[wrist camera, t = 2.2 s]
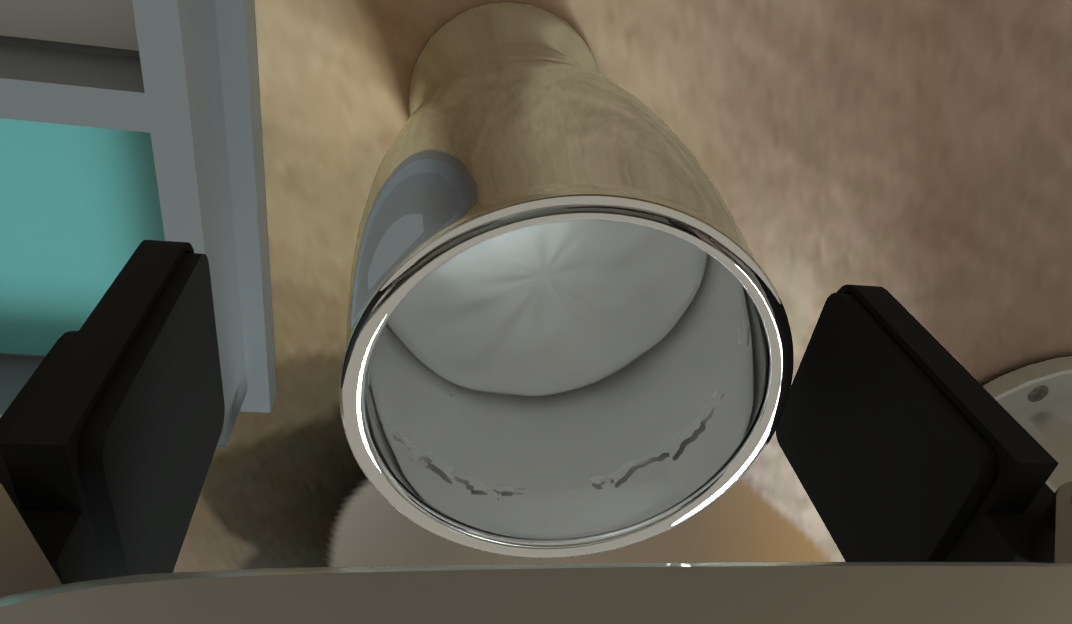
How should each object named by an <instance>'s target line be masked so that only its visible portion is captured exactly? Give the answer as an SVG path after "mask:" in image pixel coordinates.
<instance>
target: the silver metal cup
mask: <svg viewBox="0 0 1072 624" xmlns="http://www.w3.org/2000/svg"><path fill="white" fill-rule="evenodd" d="M409 114H410V118H409V119H408V120H407V122H406V123H405V124H404V126H403V127H402V129H401V130H400V132H399V133H398V135H397V137H396V138H395V140H394V141H393V143H392V145H391V146H390V148H389V149H388V151H387V153H386V154H385V156H384V158H383V160H382V162H381V164H380V166H379V168H378V170H377V173H376V175H375V178H374V180H373V183H372V187H371V190H370V193H369V196H368V199H367V202H366V205H365V208H364V211H363V214H362V217H361V221H360V225H359V230H358V235H357V241H356V247H355V253H354V258H353V264H352V271H351V280H350V292H349V304H348V316H347V337H346V351H345V355H344V359H343V364H342V369H341V376H340V393H339V396H340V410H341V417H342V422H343V427H344V431H345V434H346V437H347V441H348V443H349V446H350V448H351V451H352V453H353V455H354V457H355V459H356V461H357V463H358V465H359V466H360V468H361V470H362V471H363V473H364V474H365V476H366V477H367V479H368V480H369V481H370V483H371V484H372V485H373V486H374V487H375V489H376V490H377V491H378V492H379V493H380V494H381V495H382V496H383V497H384V498H385V499H386V500H387V501H388V502H389V503H390V504H391V505H392V506H393V507H395V508H396V509H397V510H398V511H399V512H401V513H402V514H403V515H405V516H406V517H407V518H409V519H410V520H412V521H413V522H415V523H416V524H418V525H420V526H421V527H423V528H425V529H427V530H428V531H430V532H432V533H434V534H436V535H438V536H440V537H443V538H445V539H448V540H450V541H452V542H455V543H458V544H460V545H463V546H466V547H470V548H474V549H477V550H481V551H485V552H490V553H495V554H500V555H507V556H515V557H527V558H562V557H574V556H582V555H589V554H595V553H600V552H605V551H610V550H613V549H618V548H621V547H625V546H628V545H631V544H635V543H638V542H640V541H643V540H646V539H649V538H651V537H654V536H656V535H658V534H661V533H663V532H665V531H667V530H669V529H671V528H673V527H675V526H677V525H679V524H681V523H683V522H685V521H686V520H688V519H690V518H691V517H693V516H695V515H696V514H698V513H699V512H701V511H703V510H704V509H705V508H707V507H708V506H710V505H711V504H712V503H714V502H715V501H716V500H718V499H719V498H720V497H721V496H722V495H723V494H725V493H726V492H727V491H728V490H729V489H730V488H732V487H733V486H734V485H735V484H736V483H737V482H738V481H739V480H740V479H741V478H742V477H743V476H744V475H745V474H746V472H747V471H748V470H749V469H750V468H751V467H752V465H753V464H754V463H755V462H756V460H757V459H758V458H759V456H760V455H761V454H762V452H763V451H764V449H765V448H766V446H767V444H768V443H769V441H770V439H771V438H772V436H773V434H774V432H775V430H776V428H777V426H778V424H779V422H780V419H781V417H782V414H783V412H784V409H785V406H786V403H787V400H788V396H789V392H790V387H791V382H792V374H793V343H792V335H791V330H790V326H789V322H788V318H787V315H786V312H785V309H784V306H783V304H782V301H781V299H780V297H779V295H778V293H777V291H776V289H775V287H774V286H773V284H772V282H771V281H770V279H769V278H768V276H767V275H766V273H765V272H764V271H763V269H762V268H761V267H760V265H759V264H758V263H757V262H756V260H755V258H754V256H753V254H752V252H751V250H750V248H749V246H748V244H747V242H746V240H745V238H744V236H743V234H742V232H741V230H740V229H739V227H738V225H737V223H736V221H735V220H734V218H733V216H732V214H731V213H730V211H729V209H728V207H727V205H726V204H725V202H724V200H723V198H722V197H721V195H720V193H719V191H718V190H717V188H716V187H715V185H714V184H713V182H712V181H711V180H710V178H709V177H708V175H707V174H706V172H705V171H704V169H703V168H702V166H701V165H700V163H699V162H698V160H697V159H696V157H695V156H694V155H693V153H692V152H691V151H690V150H689V148H688V147H687V146H686V145H685V144H684V143H683V141H682V140H681V139H680V138H679V137H678V136H677V135H676V134H675V133H674V132H673V131H672V129H671V128H670V127H669V126H668V125H667V124H666V123H665V122H664V121H663V120H662V119H661V118H660V117H659V116H658V115H657V114H656V113H655V112H654V111H653V110H652V109H651V108H650V107H649V106H647V105H646V104H645V103H644V102H642V101H641V100H640V99H638V98H637V97H635V96H634V95H632V94H631V93H629V92H628V91H626V90H625V89H623V88H622V87H620V86H619V85H617V84H616V83H614V82H612V81H611V80H609V79H607V78H605V77H603V76H601V74H600V71H599V68H598V65H597V63H596V60H595V58H594V56H593V54H592V52H591V51H590V49H589V47H588V46H587V44H586V43H585V41H584V40H583V39H582V37H581V36H580V35H579V34H578V33H577V32H576V31H575V30H574V29H573V28H572V27H571V26H570V25H569V24H567V23H566V22H565V21H564V20H562V19H561V18H559V17H558V16H556V15H554V14H552V13H550V12H548V11H546V10H544V9H541V8H538V7H535V6H531V5H527V4H521V3H510V2H502V3H492V4H486V5H482V6H478V7H475V8H472V9H470V10H467V11H465V12H463V13H461V14H459V15H457V16H456V17H454V18H453V19H451V20H450V21H448V22H447V23H446V24H444V25H443V26H442V27H441V28H440V29H439V30H438V31H437V32H436V33H435V34H434V35H433V36H432V37H431V39H430V40H429V41H428V43H427V44H426V45H425V47H424V49H423V50H422V52H421V54H420V56H419V58H418V60H417V62H416V65H415V67H414V70H413V74H412V77H411V82H410V89H409Z"/></svg>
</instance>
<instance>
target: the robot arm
mask: <svg viewBox="0 0 1072 624" xmlns="http://www.w3.org/2000/svg"><path fill="white" fill-rule="evenodd" d="M224 416H225V403H224V394H223V385H222V376H221V367H220V358H219V349H218V340H217V331H216V322H215V313H214V304H213V295H212V286H211V277H210V268H209V261H208V258H207V256H206V254H200V253H194V249H193V247H192V245H191V244H190V243H189V242H174V241H159V240H143V241H142V242H141V243H140V244H139V246H138V247H137V249H136V250H135V252H134V253H133V254H132V256H131V257H130V259H129V260H128V262H127V263H126V264H125V266H124V267H123V269H122V270H121V271H120V273H119V274H118V276H117V277H116V279H115V280H114V281H113V283H112V284H111V286H110V287H109V288H108V290H107V291H106V293H105V294H104V296H103V297H102V298H101V300H100V301H99V303H98V304H97V306H96V307H95V308H94V310H93V311H92V313H91V314H90V315H89V317H88V318H87V320H86V321H85V323H84V324H83V325H82V327H81V328H80V330H79V331H69V332H65V333H64V334H63V335H62V336H61V337H60V338H59V339H58V340H57V341H56V343H55V344H54V346H53V347H52V348H51V350H50V351H49V352H48V354H47V355H46V356H45V358H44V359H43V361H42V362H41V363H40V365H39V366H38V367H37V369H36V370H35V371H34V373H33V374H32V376H31V377H30V378H29V380H28V381H27V382H26V384H25V385H24V387H23V388H22V389H21V391H20V392H19V393H18V395H17V396H16V397H15V399H14V400H13V402H12V403H11V404H10V406H9V407H8V408H7V410H6V411H5V412H4V414H3V415H2V417H1V418H0V624H1072V356H1068V357H1059V358H1055V359H1051V360H1047V361H1043V362H1039V363H1035V364H1031V365H1028V366H1025V367H1023V368H1020V369H1017V370H1015V371H1012V372H1010V373H1007V374H1005V375H1002V376H1000V377H998V378H996V379H994V380H992V381H991V382H989V383H987V384H985V385H983V386H981V385H980V384H979V383H978V382H977V381H976V380H975V378H974V377H973V376H972V375H971V374H970V373H969V372H968V371H967V370H966V369H965V368H964V367H963V366H962V365H961V364H960V363H959V362H958V361H957V360H956V359H955V358H954V357H953V356H952V355H951V354H950V353H949V352H948V351H947V350H946V349H945V348H944V347H943V346H942V345H941V344H940V343H939V342H938V341H937V340H936V339H935V338H934V337H933V336H932V335H931V334H930V333H929V332H928V331H927V330H926V329H925V328H924V327H923V326H922V325H921V324H920V323H919V322H918V321H917V320H916V319H915V318H914V317H913V316H912V315H911V314H910V313H909V312H908V311H907V310H906V309H905V308H904V307H903V306H902V305H901V304H900V303H899V302H898V301H897V300H896V299H895V298H894V297H893V296H892V295H891V294H890V293H889V292H888V291H887V290H886V289H884V288H883V287H876V286H861V285H845V286H842V287H841V288H840V289H839V290H838V291H837V293H833V294H831V295H830V296H829V297H828V299H827V300H826V302H825V305H824V307H823V310H822V312H821V315H820V317H819V319H818V322H817V324H816V327H815V329H814V332H813V334H812V337H811V339H810V341H809V344H808V346H807V349H806V351H805V354H804V356H803V359H802V361H801V363H800V366H799V368H798V371H797V373H796V376H795V378H794V381H793V383H792V385H791V388H790V392H789V396H788V400H787V403H786V406H785V409H784V412H783V414H782V417H781V419H780V422H779V424H778V426H777V428H776V436H777V440H778V443H779V445H780V447H781V448H782V450H783V452H784V454H785V455H786V457H787V459H788V461H789V462H790V464H791V466H792V468H793V469H794V471H795V473H796V475H797V476H798V478H799V480H800V482H801V484H802V485H803V487H804V489H805V491H806V492H807V494H808V496H809V498H810V499H811V501H812V503H813V505H814V506H815V508H816V510H817V512H818V513H819V515H820V517H821V519H822V520H823V522H824V524H825V526H826V527H827V529H828V531H829V533H830V535H831V536H832V538H833V540H834V542H835V543H836V545H837V547H838V549H839V550H840V552H841V554H842V556H843V557H844V559H845V561H846V562H750V563H748V562H741V563H625V564H624V563H621V564H619V563H616V564H524V565H456V566H454V565H452V566H384V567H383V566H380V567H319V568H265V569H242V570H221V571H200V572H179V573H173V570H174V567H175V564H176V561H177V558H178V555H179V553H180V550H181V547H182V544H183V541H184V538H185V535H186V532H187V530H188V527H189V524H190V521H191V518H192V515H193V512H194V510H195V507H196V504H197V501H198V498H199V495H200V492H201V489H202V487H203V484H204V481H205V478H206V475H207V472H208V469H209V466H210V464H211V461H212V458H213V455H214V452H215V449H216V446H217V443H218V441H219V438H220V435H221V432H222V428H223V424H224Z"/></svg>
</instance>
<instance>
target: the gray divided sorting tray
mask: <svg viewBox="0 0 1072 624" xmlns="http://www.w3.org/2000/svg"><path fill="white" fill-rule="evenodd" d="M143 240H159V241H174V242H189V243H190V244H191V245H192V247H193V249H194V253H200V254H206V256H207V258H208V261H209V268H210V277H211V286H212V295H213V304H214V313H215V322H216V331H217V340H218V349H219V358H220V367H221V376H222V385H223V394H224V403H225V416H224V424H223V428H222V432H221V435H220V438H219V441H218V443H217V446H216V447H226V446H227V443H228V441H229V438H230V435H231V433H232V430H233V427H234V425H235V422H236V419H237V417H238V414H239V411H241V412H265V413H270V412H271V409H272V406H273V403H274V400H275V397H276V394H277V386H276V368H275V351H274V334H273V316H272V299H271V282H270V264H269V247H268V230H267V212H266V195H265V178H264V161H263V143H262V126H261V109H260V91H259V74H258V57H257V39H256V22H255V5H254V0H0V418H1V417H2V415H3V414H4V412H5V411H6V410H7V408H8V407H9V406H10V404H11V403H12V402H13V400H14V399H15V397H16V396H17V395H18V393H19V392H20V391H21V389H22V388H23V387H24V385H25V384H26V382H27V381H28V380H29V378H30V377H31V376H32V374H33V373H34V371H35V370H36V369H37V367H38V366H39V365H40V363H41V362H42V361H43V359H44V358H45V356H46V355H47V354H48V352H49V351H50V350H51V348H52V347H53V346H54V344H55V343H56V341H57V340H58V339H59V338H60V337H61V336H62V335H63V334H64V333H65V332H69V331H79V330H80V328H81V327H82V325H83V324H84V323H85V321H86V320H87V318H88V317H89V315H90V314H91V313H92V311H93V310H94V308H95V307H96V306H97V304H98V303H99V301H100V300H101V298H102V297H103V296H104V294H105V293H106V291H107V290H108V288H109V287H110V286H111V284H112V283H113V281H114V280H115V279H116V277H117V276H118V274H119V273H120V271H121V270H122V269H123V267H124V266H125V264H126V263H127V262H128V260H129V259H130V257H131V256H132V254H133V253H134V252H135V250H136V249H137V247H138V246H139V244H140V243H141V242H142V241H143Z"/></svg>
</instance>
